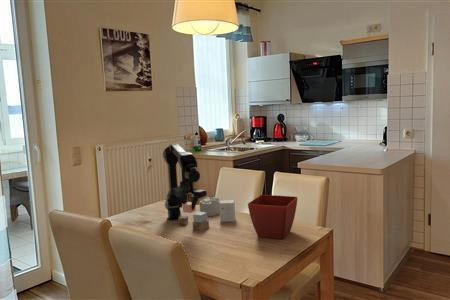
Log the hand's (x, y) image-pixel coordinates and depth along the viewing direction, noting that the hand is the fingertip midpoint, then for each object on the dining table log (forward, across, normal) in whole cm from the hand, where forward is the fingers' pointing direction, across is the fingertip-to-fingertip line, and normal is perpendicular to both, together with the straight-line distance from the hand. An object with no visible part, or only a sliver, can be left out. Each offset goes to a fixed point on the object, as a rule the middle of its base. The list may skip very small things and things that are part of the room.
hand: (189, 209), depth 198 cm
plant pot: (+12, +39, +15) cm, 44 cm away
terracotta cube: (+1, 0, 0) cm, 1 cm away
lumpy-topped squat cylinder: (+12, -9, +33) cm, 36 cm away
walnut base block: (+12, +1, +7) cm, 14 cm away
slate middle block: (+8, +1, +7) cm, 11 cm away
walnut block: (+12, -12, +9) cm, 19 cm away
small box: (+12, +7, +24) cm, 28 cm away
